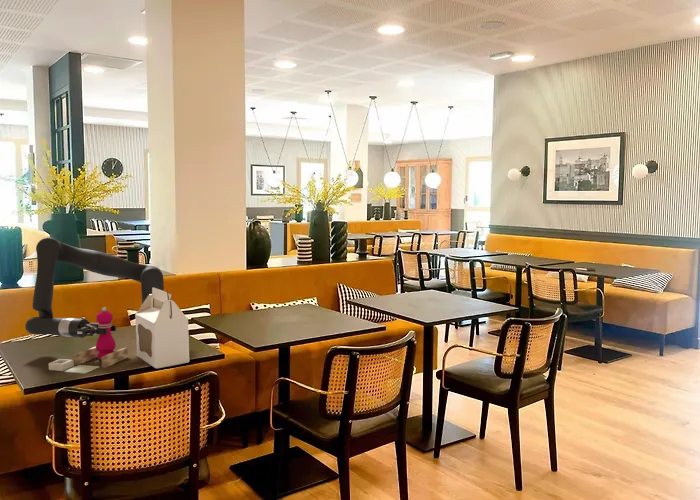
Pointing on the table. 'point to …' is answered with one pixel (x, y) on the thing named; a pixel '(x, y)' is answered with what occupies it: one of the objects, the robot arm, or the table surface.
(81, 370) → the sage pad
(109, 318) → the pepper mill
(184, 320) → the gable box
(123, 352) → the oak channel
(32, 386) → the table surface
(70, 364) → the box
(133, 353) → the table surface
